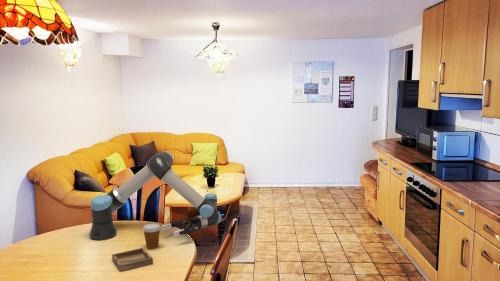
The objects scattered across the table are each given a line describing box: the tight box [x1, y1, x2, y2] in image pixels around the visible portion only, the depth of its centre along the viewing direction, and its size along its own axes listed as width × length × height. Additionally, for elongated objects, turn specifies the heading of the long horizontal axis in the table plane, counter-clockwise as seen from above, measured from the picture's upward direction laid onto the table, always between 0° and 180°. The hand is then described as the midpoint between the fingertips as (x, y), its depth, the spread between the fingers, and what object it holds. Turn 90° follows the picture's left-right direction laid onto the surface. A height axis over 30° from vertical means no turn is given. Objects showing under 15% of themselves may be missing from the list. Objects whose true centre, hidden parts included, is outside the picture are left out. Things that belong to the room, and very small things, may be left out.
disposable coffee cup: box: [142, 223, 161, 250], centre depth 223 cm, size 10×10×12 cm
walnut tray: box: [111, 247, 154, 273], centre depth 204 cm, size 16×16×3 cm
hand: (167, 231), depth 229 cm, fingers open, 13 cm apart
